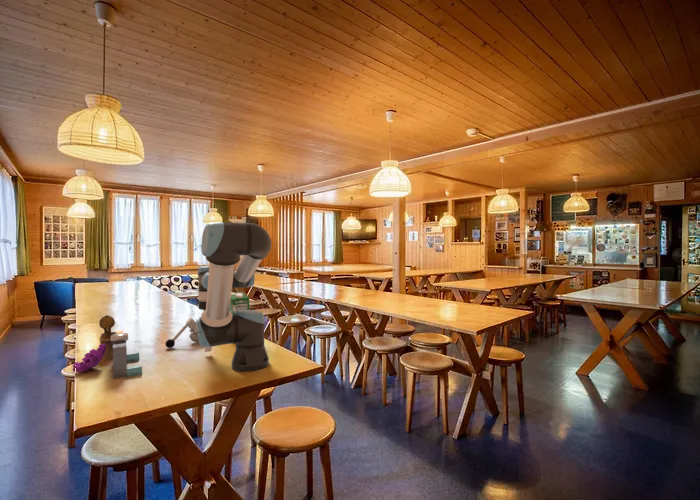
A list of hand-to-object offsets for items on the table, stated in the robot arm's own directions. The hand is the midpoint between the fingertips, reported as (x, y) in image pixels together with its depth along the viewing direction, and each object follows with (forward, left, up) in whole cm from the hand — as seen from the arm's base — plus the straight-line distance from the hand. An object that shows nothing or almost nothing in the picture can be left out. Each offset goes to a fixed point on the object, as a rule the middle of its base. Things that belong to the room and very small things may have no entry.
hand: (208, 351), depth 165 cm
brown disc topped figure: (+24, +38, -2) cm, 45 cm away
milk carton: (+19, -19, -2) cm, 27 cm away
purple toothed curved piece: (+6, +45, -2) cm, 45 cm away
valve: (+25, 0, -5) cm, 25 cm away
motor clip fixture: (0, +32, -2) cm, 32 cm away
